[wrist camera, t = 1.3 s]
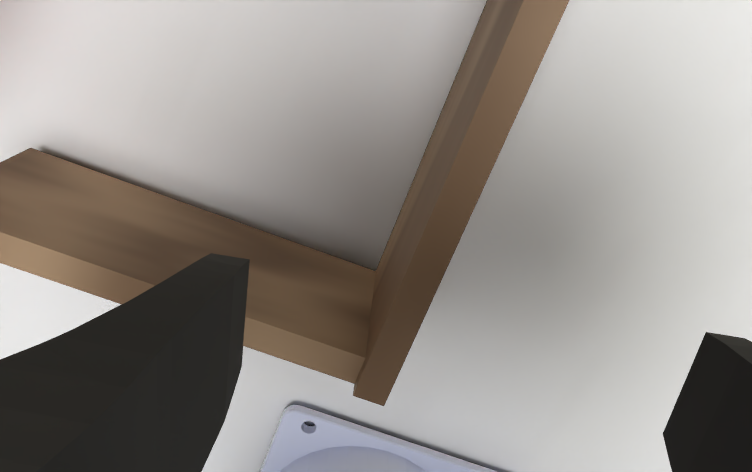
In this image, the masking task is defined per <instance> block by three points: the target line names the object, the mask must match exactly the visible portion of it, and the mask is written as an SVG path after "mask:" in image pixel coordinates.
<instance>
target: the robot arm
mask: <svg viewBox="0 0 752 472" xmlns="http://www.w3.org/2000/svg"><path fill="white" fill-rule="evenodd" d="M249 263H250V259H244V258H238V257H232V256H226V255H219V254H213V253H211V254H209V255H207V256H205V257H203V258H201V259H199V260H198V261H196V262H194V263H192V264H191V265H189V266H187V267H186V268H184V269H182V270H181V271H179V272H178V273H176V274H174V275H173V276H171V277H169V278H168V279H166V280H164V281H162V282H161V283H159V284H157V285H156V286H154V287H152V288H150V289H149V290H147V291H145V292H143V293H142V294H140V295H138V296H136V297H135V298H133V299H131V300H129V301H128V302H126V303H124V304H122V305H120V306H118V307H116V308H114V309H112V310H110V311H108V312H106V313H104V314H102V315H100V316H98V317H96V318H94V319H92V320H90V321H88V322H86V323H85V324H83V325H81V326H79V327H77V328H75V329H73V330H71V331H68V332H66V333H64V334H62V335H60V336H57V337H55V338H53V339H50V340H48V341H46V342H43V343H41V344H39V345H36V346H34V347H31V348H29V349H26V350H24V351H21V352H19V353H16V354H13V355H11V356H8V357H6V358H3V359H1V360H0V472H201V471H202V469H203V467H204V465H205V463H206V460H207V458H208V456H209V454H210V452H211V450H212V447H213V445H214V443H215V441H216V439H217V436H218V434H219V432H220V430H221V428H222V425H223V423H224V421H225V418H226V415H227V412H228V409H229V405H230V402H231V399H232V396H233V393H234V390H235V386H236V383H237V380H238V376H239V373H240V370H241V366H242V353H243V340H244V327H245V314H246V301H247V288H248V275H249ZM306 421H311V422H313V423H314V424H315V426H307V425H305V424H304V422H306ZM663 436H664V440H665V444H666V449H667V453H668V457H669V461H670V465H671V469H672V472H752V342H751V341H749V340H747V339H745V338H739V337H733V336H726V335H720V334H714V333H708V332H706V333H705V336H704V338H703V340H702V343H701V345H700V347H699V350H698V352H697V355H696V357H695V359H694V362H693V364H692V366H691V369H690V371H689V373H688V376H687V378H686V380H685V383H684V385H683V387H682V390H681V392H680V395H679V397H678V399H677V402H676V404H675V406H674V409H673V411H672V413H671V416H670V418H669V420H668V423H667V425H666V428H665V430H664V432H663ZM260 472H497V471H494V470H491V469H488V468H485V467H482V466H479V465H476V464H473V463H470V462H467V461H465V460H462V459H459V458H456V457H453V456H450V455H447V454H444V453H441V452H438V451H435V450H432V449H429V448H426V447H423V446H420V445H417V444H414V443H411V442H408V441H405V440H402V439H399V438H396V437H393V436H390V435H387V434H384V433H381V432H378V431H375V430H372V429H369V428H366V427H363V426H360V425H357V424H354V423H351V422H348V421H345V420H342V419H339V418H336V417H333V416H330V415H327V414H324V413H321V412H319V411H316V410H313V409H310V408H307V407H304V406H300V405H291V406H289V407H287V408H286V409H285V410H284V411H283V414H282V416H281V419H280V421H279V424H278V426H277V429H276V432H275V434H274V437H273V439H272V442H271V445H270V447H269V450H268V452H267V455H266V457H265V460H264V463H263V465H262V468H261V470H260Z"/></svg>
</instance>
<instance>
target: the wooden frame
mask: <svg viewBox="0 0 752 472" xmlns="http://www.w3.org/2000/svg"><path fill="white" fill-rule="evenodd" d="M568 2H569V0H487V2H486V5H485V7H484V10H483V12H482V14H481V17H480V19H479V22H478V24H477V27H476V29H475V31H474V34H473V36H472V39H471V41H470V44H469V46H468V48H467V51H466V53H465V56H464V58H463V61H462V63H461V65H460V68H459V70H458V73H457V75H456V78H455V80H454V82H453V85H452V87H451V90H450V92H449V95H448V97H447V99H446V102H445V104H444V107H443V109H442V112H441V114H440V116H439V119H438V121H437V124H436V126H435V129H434V131H433V133H432V136H431V138H430V141H429V143H428V146H427V148H426V150H425V153H424V155H423V158H422V160H421V163H420V165H419V167H418V170H417V172H416V175H415V177H414V180H413V182H412V184H411V187H410V189H409V192H408V194H407V197H406V199H405V201H404V204H403V206H402V209H401V211H400V214H399V216H398V218H397V221H396V223H395V226H394V228H393V231H392V233H391V235H390V238H389V240H388V243H387V245H386V248H385V250H384V252H383V255H382V257H381V260H380V262H379V265H378V267H377V269H376V271H373V270H371V269H368V268H365V267H362V266H360V265H357V264H354V263H351V262H348V261H346V260H343V259H340V258H337V257H334V256H332V255H329V254H326V253H323V252H320V251H318V250H315V249H312V248H309V247H306V246H304V245H301V244H298V243H295V242H292V241H290V240H287V239H284V238H281V237H278V236H276V235H273V234H270V233H267V232H264V231H262V230H259V229H256V228H253V227H250V226H248V225H245V224H242V223H239V222H236V221H234V220H231V219H228V218H225V217H223V216H220V215H217V214H214V213H211V212H209V211H206V210H203V209H200V208H197V207H195V206H192V205H189V204H186V203H183V202H181V201H178V200H175V199H172V198H169V197H167V196H164V195H161V194H158V193H155V192H153V191H150V190H147V189H144V188H141V187H139V186H136V185H133V184H130V183H127V182H125V181H122V180H119V179H116V178H113V177H111V176H108V175H105V174H102V173H99V172H97V171H94V170H91V169H88V168H86V167H83V166H80V165H77V164H74V163H72V162H69V161H66V160H63V159H60V158H58V157H55V156H52V155H49V154H46V153H44V152H41V151H38V150H35V149H32V148H29V149H27V150H25V151H23V152H21V153H19V154H17V155H15V156H13V157H11V158H9V159H7V160H5V161H3V162H1V163H0V263H2V264H5V265H8V266H11V267H14V268H17V269H20V270H23V271H26V272H29V273H32V274H35V275H37V276H40V277H43V278H46V279H49V280H52V281H55V282H58V283H61V284H64V285H67V286H70V287H73V288H76V289H79V290H81V291H84V292H87V293H90V294H93V295H96V296H99V297H102V298H105V299H108V300H111V301H114V302H117V303H120V304H124V303H126V302H128V301H129V300H131V299H133V298H135V297H136V296H138V295H140V294H142V293H143V292H145V291H147V290H149V289H150V288H152V287H154V286H156V285H157V284H159V283H161V282H162V281H164V280H166V279H168V278H169V277H171V276H173V275H174V274H176V273H178V272H179V271H181V270H182V269H184V268H186V267H187V266H189V265H191V264H192V263H194V262H196V261H198V260H199V259H201V258H203V257H205V256H207V255H209V254H211V253H213V254H219V255H226V256H232V257H238V258H244V259H250V263H249V275H248V288H247V301H246V314H245V327H244V340H243V346H246V347H249V348H251V349H254V350H257V351H260V352H263V353H266V354H269V355H272V356H275V357H278V358H281V359H284V360H287V361H290V362H293V363H295V364H298V365H301V366H304V367H307V368H310V369H313V370H316V371H319V372H322V373H325V374H328V375H331V376H334V377H336V378H339V379H342V380H345V381H348V382H351V383H354V391H353V396H356V397H359V398H361V399H364V400H367V401H370V402H373V403H376V404H379V405H382V406H384V405H385V403H386V400H387V398H388V396H389V394H390V392H391V389H392V387H393V385H394V383H395V381H396V378H397V376H398V374H399V372H400V370H401V367H402V365H403V363H404V361H405V359H406V357H407V354H408V352H409V350H410V348H411V346H412V343H413V341H414V339H415V337H416V335H417V332H418V330H419V328H420V326H421V324H422V322H423V319H424V317H425V315H426V313H427V311H428V308H429V306H430V304H431V302H432V300H433V297H434V295H435V293H436V291H437V289H438V286H439V284H440V282H441V280H442V278H443V276H444V273H445V271H446V269H447V267H448V265H449V262H450V260H451V258H452V256H453V254H454V251H455V249H456V247H457V245H458V243H459V241H460V238H461V236H462V234H463V232H464V230H465V227H466V225H467V223H468V221H469V219H470V216H471V214H472V212H473V210H474V208H475V205H476V203H477V201H478V199H479V197H480V195H481V192H482V190H483V188H484V186H485V184H486V181H487V179H488V177H489V175H490V173H491V170H492V168H493V166H494V164H495V162H496V160H497V157H498V155H499V153H500V151H501V149H502V146H503V144H504V142H505V140H506V138H507V135H508V133H509V131H510V129H511V127H512V124H513V122H514V120H515V118H516V116H517V114H518V111H519V109H520V107H521V105H522V103H523V100H524V98H525V96H526V94H527V92H528V89H529V87H530V85H531V83H532V81H533V79H534V76H535V74H536V72H537V70H538V68H539V65H540V63H541V61H542V59H543V57H544V54H545V52H546V50H547V48H548V46H549V43H550V41H551V39H552V37H553V35H554V33H555V30H556V28H557V26H558V24H559V22H560V19H561V17H562V15H563V13H564V11H565V8H566V6H567V4H568Z"/></svg>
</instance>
